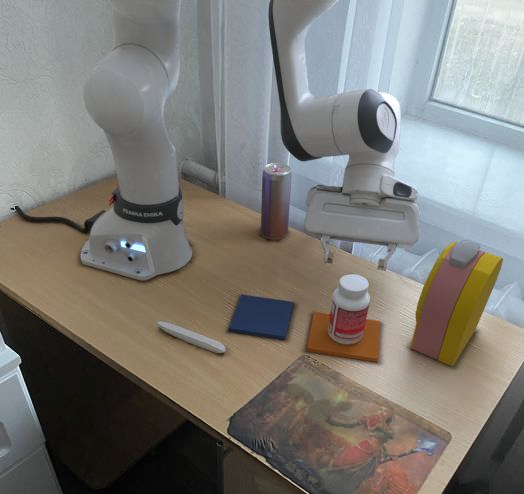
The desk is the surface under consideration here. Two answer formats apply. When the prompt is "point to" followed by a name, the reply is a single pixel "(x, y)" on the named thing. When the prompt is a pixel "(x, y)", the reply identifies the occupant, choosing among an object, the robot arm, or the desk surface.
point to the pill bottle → (349, 309)
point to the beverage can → (275, 200)
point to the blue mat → (262, 317)
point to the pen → (192, 337)
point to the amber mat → (360, 350)
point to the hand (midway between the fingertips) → (354, 266)
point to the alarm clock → (454, 300)
